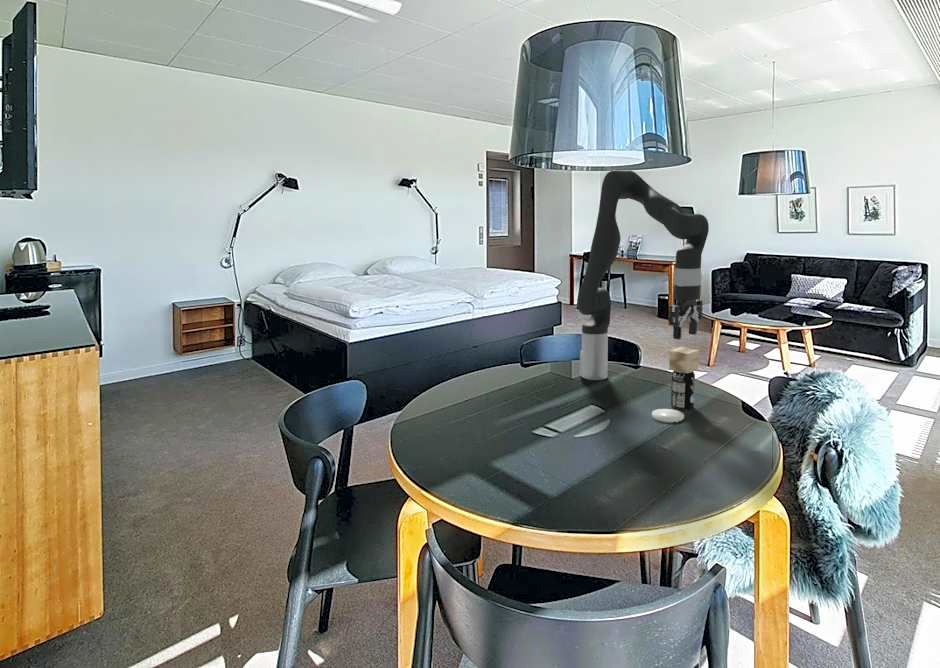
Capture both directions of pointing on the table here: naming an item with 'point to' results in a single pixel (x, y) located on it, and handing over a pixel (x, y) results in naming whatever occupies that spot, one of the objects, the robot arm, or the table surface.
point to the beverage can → (682, 390)
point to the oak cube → (683, 360)
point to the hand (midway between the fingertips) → (684, 336)
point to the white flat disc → (667, 415)
